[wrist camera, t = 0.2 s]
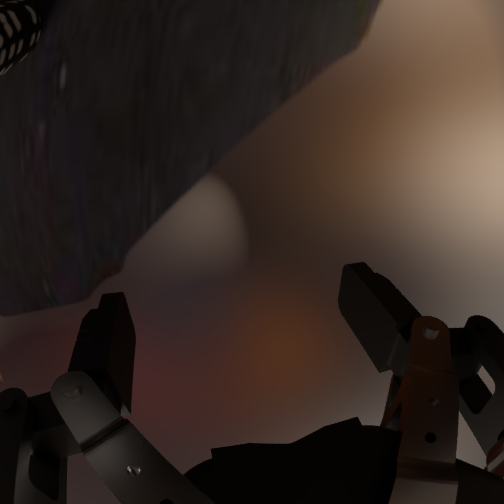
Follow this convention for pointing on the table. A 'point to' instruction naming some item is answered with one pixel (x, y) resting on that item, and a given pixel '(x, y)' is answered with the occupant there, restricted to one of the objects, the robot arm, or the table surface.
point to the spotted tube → (17, 32)
